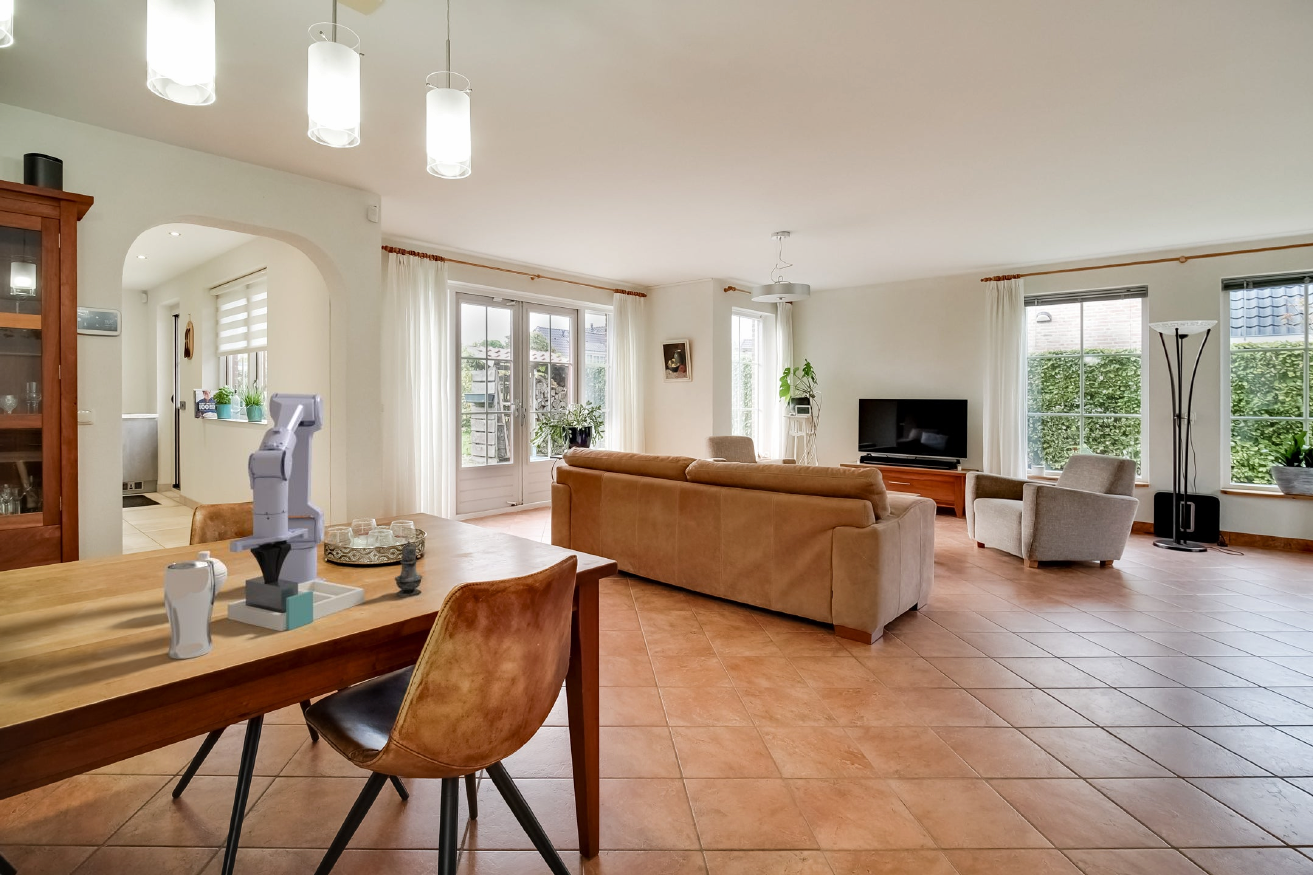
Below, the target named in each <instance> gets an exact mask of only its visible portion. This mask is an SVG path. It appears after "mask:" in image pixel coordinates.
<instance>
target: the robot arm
mask: <svg viewBox="0 0 1313 875" xmlns="http://www.w3.org/2000/svg"><path fill="white" fill-rule="evenodd" d="M269 414H270V415H269V416H270V417H271V419H272V421H273V422H274V423H273V424H274V425H273V427H271V428H269V429H268V430H266V432H265V433H264V435H263V438H262V441H261V443H260V445H259V447H258V449H257V450H255V451H254V452H251V453H250V455H249V457H248V460H247V462H248V464H247V470H248V477H249V482H250V484H249V485H250V490H252V509H253V511H252V520H253V521H252V522H253V523H252V524H253V525H252V527H253V528H252V529H253V533H252V535H249V536H245V537H242V538H238V539H234V540H231V541H229V552H232V553H237V554H238V553H241V552H243V551H247V550H248V551H250V554H252V555H253V557H254V558H255V559H256V562H257V564H258V566H259V568H260V570H261V574H262V576H263V578H264V581H265V582H269V583H273V582H277V581H278V579H282V580H287V581H292V582H297V583H298V584H300V583H304V582H308V581H311V580H319V581H324V582H327V579H326V578H323V577H322V578H321V577H318V559H317V558H318V544H321V543H322V542H323V541H324V538H325V529H326V528H325V527H326V526H325V519H324V512H323V510H322V508H320V507H319V506H316V505H315V504H313V503H312V501H311V500H312V499H311V492H312V491H311V489H312V455H313V454H312V449H313V446H312V444H313V438H314V434H315V432H318V431H321V430H322V427H323V424H324V401H323V398H322V396H321V395H320V394H319V393H315V394H312V393H310V394H308V393H278V392H274V393H273V394H272V395H271V396H270V399H269ZM290 516H291V517H290ZM296 516H297V517H296ZM299 516H301V517H299ZM306 516H307V517H306ZM308 516H309V517H308Z"/></svg>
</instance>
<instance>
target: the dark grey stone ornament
mask: <svg viewBox="0 0 1313 875" xmlns="http://www.w3.org/2000/svg"><path fill="white" fill-rule="evenodd" d="M401 549H402V550H401V560H400V561H399V562H400V563H401V571H400V575H398V576H396V577H394V581H395V583H396V586H397V588H398V589H400V590H398V591H397V592H396V593H395V596H396V597H400V598H410V597H417V596H419V595H421V594H422V591H421V589H420V590H419V589H418V588H419V587H420V585H421V582H422V579H423V578H424V577H423V575H422V574H418V573H417V562H418V559H417V555H416V554H417V550H416V546H415V545H414V544H411V541H410V540H408V541H407V543H406V544H405V545H403V546H402V548H401Z"/></svg>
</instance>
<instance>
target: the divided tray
mask: <svg viewBox="0 0 1313 875" xmlns="http://www.w3.org/2000/svg"><path fill="white" fill-rule="evenodd" d="M365 592H366V591H365V588H361V587H356V586H351V585H344V584H340V583H334V582H328V581H325V582H324V581H319V580H311V581H308V582H304V583H300V584H298V595H295V596H291V597H288V598H286V613H283V614H282V613H278V612H273V611H269V610H264V609H260V608H255V607H250V606H246V598H243V599H241V600H237V601H234V602H230V603H227V619H228V620H232V621H236V622H239V623H240V622H241V623H245V624H248V625H249V624H250V625H251V626H252V625H253V626H258V627H260V628H266V629H269V630H274V631H279V632H283V631H286V630H287V631H292V630H295V629H297V628H300V627H303V626H305V625H310V624H312V623H314V621H315V620H318V619H320V618H324V617H326V616H327V617H328V616H329V615H333V614H336V613H338V612H341V611H345V610H347V609H349V608H352V607H355V606H358V605H360V604H364V603H365V598H366V597H365Z"/></svg>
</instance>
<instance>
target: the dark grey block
mask: <svg viewBox="0 0 1313 875" xmlns="http://www.w3.org/2000/svg"><path fill="white" fill-rule="evenodd" d="M295 595H298V583H297V582H292V581H287V580H282V579H278V581H277V582H273V583H269V582H265V581H264V578H263V575H261V576H260V575H259V576H257V577H253V578H248V579H246V580H245V599H246V606H250V607H255V608H260V609H264V610H269V611H273V612H278V613H282V614H283V613H286V598H288V597H291V596H295Z"/></svg>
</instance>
